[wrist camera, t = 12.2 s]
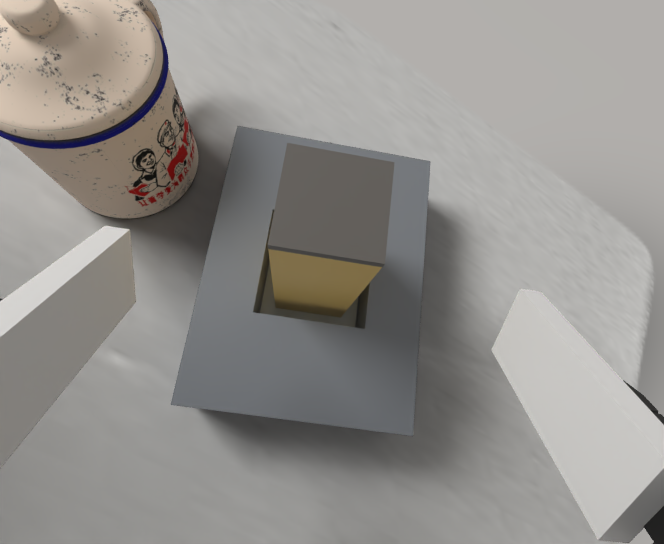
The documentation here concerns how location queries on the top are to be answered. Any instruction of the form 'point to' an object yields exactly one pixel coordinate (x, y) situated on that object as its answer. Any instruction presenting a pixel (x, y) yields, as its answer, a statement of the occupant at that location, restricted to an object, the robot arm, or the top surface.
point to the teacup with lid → (96, 102)
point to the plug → (328, 228)
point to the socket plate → (301, 327)
